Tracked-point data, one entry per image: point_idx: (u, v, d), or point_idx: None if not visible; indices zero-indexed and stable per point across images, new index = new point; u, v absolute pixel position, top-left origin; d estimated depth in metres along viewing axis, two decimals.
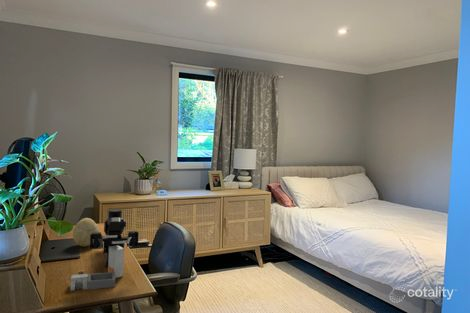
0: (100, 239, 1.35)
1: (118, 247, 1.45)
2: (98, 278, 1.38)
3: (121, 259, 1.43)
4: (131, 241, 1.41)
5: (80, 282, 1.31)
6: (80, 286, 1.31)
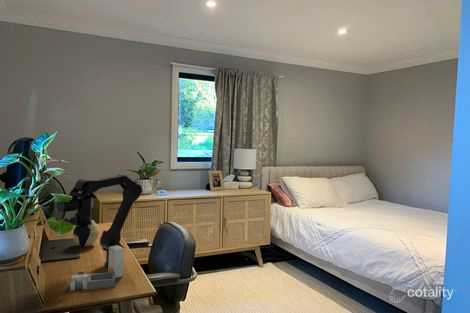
0: None
1: (118, 247, 1.45)
2: (98, 278, 1.38)
3: (121, 259, 1.43)
4: None
5: (80, 282, 1.31)
6: (80, 286, 1.31)
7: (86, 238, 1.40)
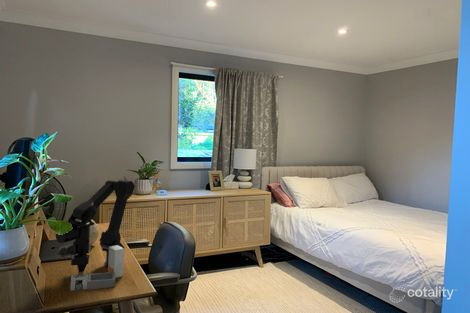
0: None
1: (118, 247, 1.45)
2: (98, 278, 1.38)
3: (121, 259, 1.43)
4: None
5: (80, 283, 1.31)
6: (80, 287, 1.30)
7: (85, 265, 1.40)
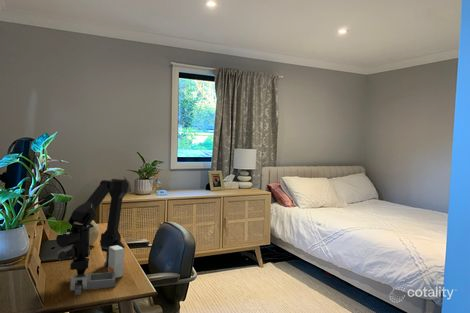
0: None
1: (118, 247, 1.45)
2: (98, 278, 1.38)
3: (121, 259, 1.43)
4: None
5: (79, 288, 1.26)
6: (79, 292, 1.25)
7: (84, 269, 1.36)
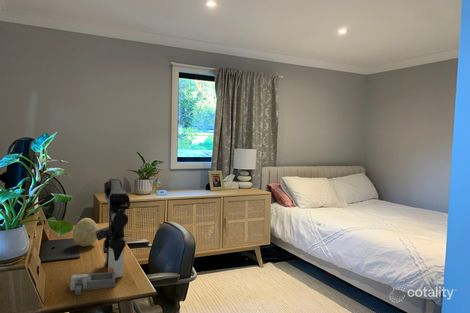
0: None
1: None
2: (98, 278, 1.38)
3: (121, 259, 1.43)
4: None
5: (79, 288, 1.26)
6: (79, 292, 1.25)
7: (121, 250, 1.40)
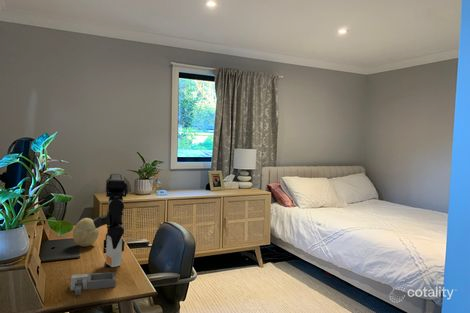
0: None
1: None
2: (98, 278, 1.38)
3: (119, 248, 1.41)
4: None
5: (79, 288, 1.26)
6: (79, 292, 1.25)
7: (119, 238, 1.38)
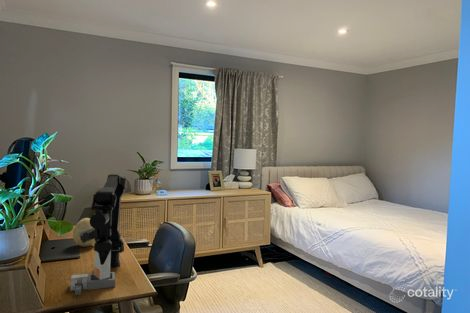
0: None
1: None
2: (98, 278, 1.38)
3: (108, 259, 1.34)
4: None
5: (79, 288, 1.26)
6: (79, 292, 1.25)
7: (107, 254, 1.31)
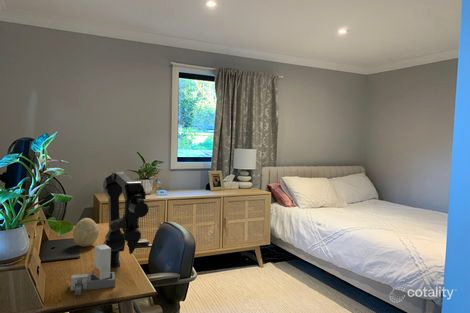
0: None
1: (105, 246, 1.35)
2: (98, 278, 1.38)
3: (108, 259, 1.34)
4: None
5: (79, 288, 1.26)
6: (79, 292, 1.25)
7: (135, 243, 1.34)
